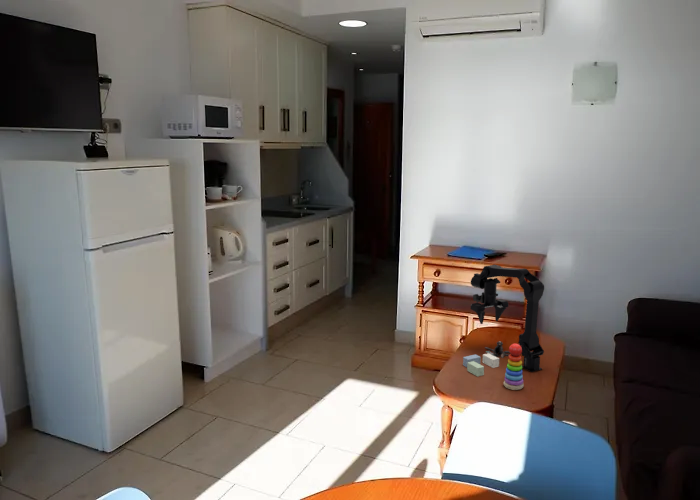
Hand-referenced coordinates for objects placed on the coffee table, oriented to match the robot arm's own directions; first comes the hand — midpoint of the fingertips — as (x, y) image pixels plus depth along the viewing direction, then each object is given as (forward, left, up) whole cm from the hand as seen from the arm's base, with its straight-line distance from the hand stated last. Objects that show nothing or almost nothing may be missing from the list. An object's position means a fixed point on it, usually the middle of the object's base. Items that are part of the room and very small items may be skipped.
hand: (489, 322), depth 261 cm
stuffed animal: (-5, -2, -15) cm, 16 cm away
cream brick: (-14, +10, -14) cm, 23 cm away
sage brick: (-18, +22, -14) cm, 32 cm away
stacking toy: (-36, +17, -14) cm, 42 cm away
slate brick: (-10, +18, -14) cm, 26 cm away
